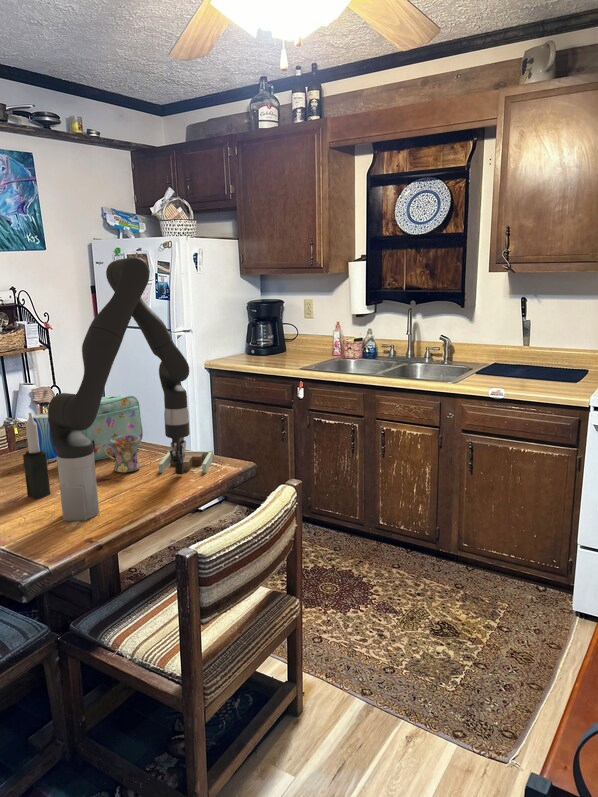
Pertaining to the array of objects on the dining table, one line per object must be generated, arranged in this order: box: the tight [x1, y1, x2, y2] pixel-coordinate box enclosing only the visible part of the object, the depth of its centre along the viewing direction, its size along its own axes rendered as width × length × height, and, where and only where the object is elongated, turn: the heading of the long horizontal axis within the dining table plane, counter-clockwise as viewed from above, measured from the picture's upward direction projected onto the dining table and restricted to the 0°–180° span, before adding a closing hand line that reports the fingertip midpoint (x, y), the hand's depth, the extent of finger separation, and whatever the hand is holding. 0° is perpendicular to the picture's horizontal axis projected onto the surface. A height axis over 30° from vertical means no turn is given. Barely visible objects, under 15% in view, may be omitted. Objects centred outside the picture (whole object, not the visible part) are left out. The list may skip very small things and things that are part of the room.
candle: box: [22, 412, 51, 500], centre depth 171 cm, size 5×5×25 cm
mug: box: [102, 435, 141, 474], centre depth 193 cm, size 12×9×11 cm
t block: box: [171, 453, 204, 472], centre depth 198 cm, size 10×10×3 cm
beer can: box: [32, 412, 57, 463], centre depth 204 cm, size 8×8×16 cm
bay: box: [158, 450, 214, 474], centre depth 198 cm, size 14×15×3 cm
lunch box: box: [82, 394, 144, 461], centre depth 210 cm, size 27×10×21 cm, turn 147°
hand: (179, 473), depth 188 cm, fingers closed
